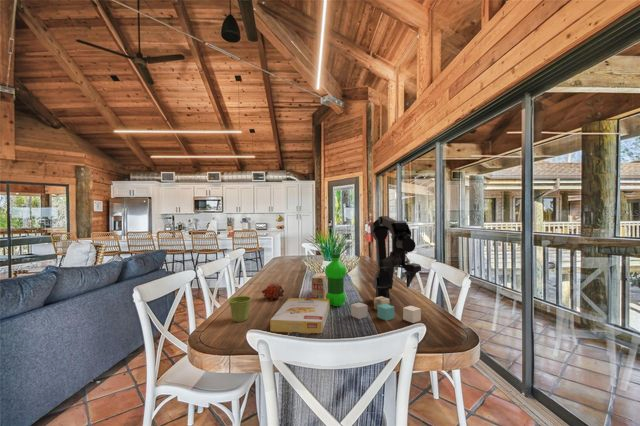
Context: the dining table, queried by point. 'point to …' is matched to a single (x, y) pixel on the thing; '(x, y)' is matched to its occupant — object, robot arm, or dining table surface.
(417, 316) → the cream cube
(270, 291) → the dragon fruit
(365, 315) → the pale grey cube
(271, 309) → the dining table surface
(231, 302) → the plant pot
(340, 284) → the plastic bottle
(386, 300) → the light ash cube
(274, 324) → the cereal box
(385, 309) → the teal cube
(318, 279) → the printed food carton
